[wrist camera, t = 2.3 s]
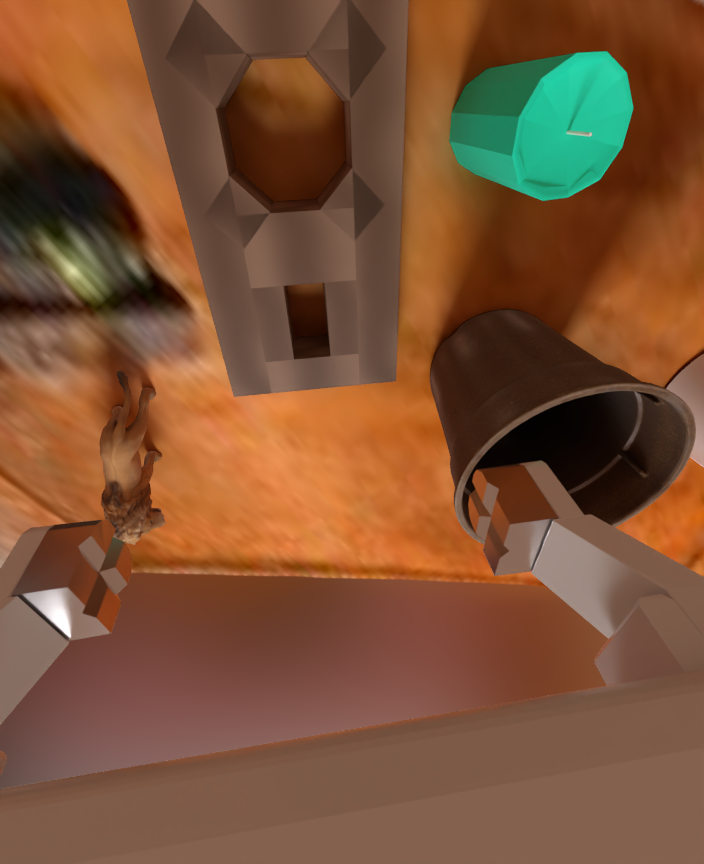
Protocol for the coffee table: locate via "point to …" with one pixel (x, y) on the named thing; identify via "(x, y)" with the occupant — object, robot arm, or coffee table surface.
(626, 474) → the plant pot
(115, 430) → the lion figurine
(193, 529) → the coffee table surface
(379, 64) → the socket block
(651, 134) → the coffee table surface
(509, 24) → the coffee table surface
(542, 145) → the candle
